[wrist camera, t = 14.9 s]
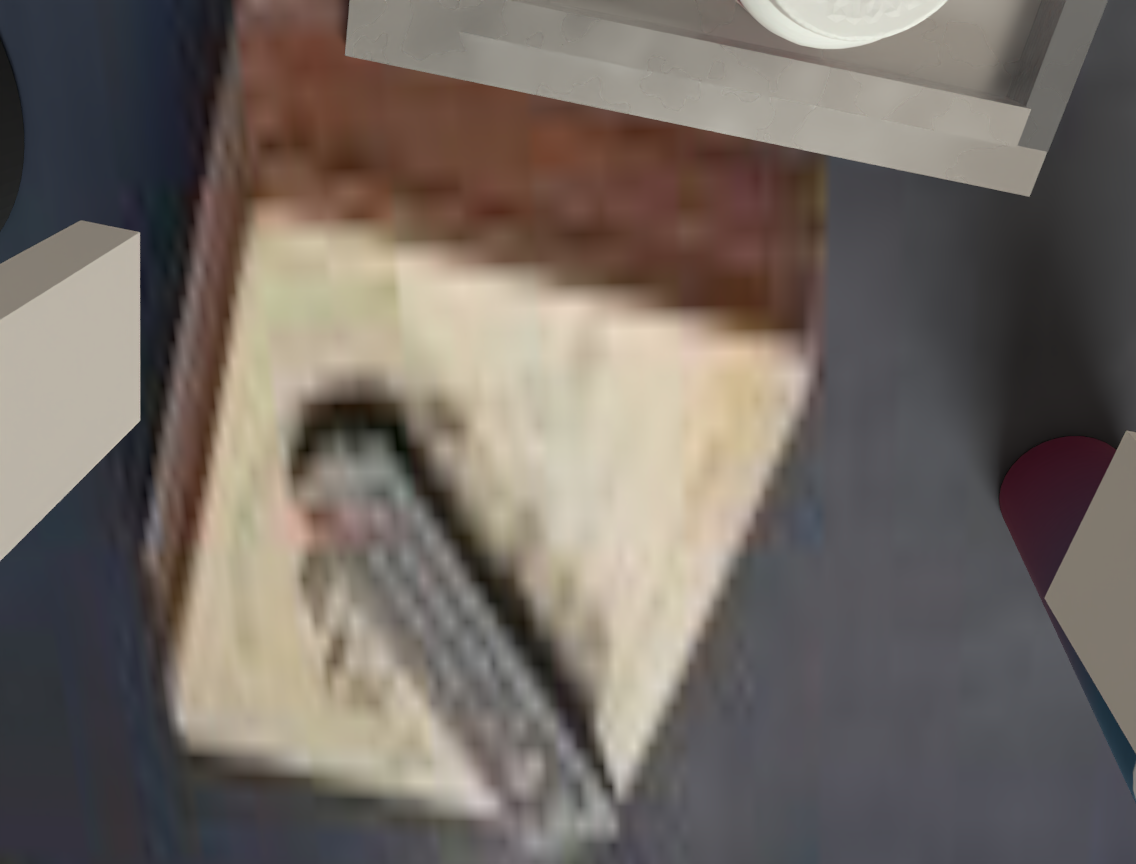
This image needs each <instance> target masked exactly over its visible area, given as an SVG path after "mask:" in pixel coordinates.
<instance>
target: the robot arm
mask: <svg viewBox="0 0 1136 864" xmlns="http://www.w3.org/2000/svg"><path fill="white" fill-rule="evenodd" d="M23 160H24V127H23V117H22V110H21V104H20V99H19V94H18V90H17V86H16V82H15V79H14V75H13V72H12V69H11V66H10V63H9V60H8V58H7V55H6V52H5V50H4V47H3V45H2V43H1V40H0V231H1V229H2V228H3V226H4V224H5V222H6V221H7V219H8V217H9V215H10V212H11V210H12V208H13V205H14V203H15V200H16V196H17V193H18V190H19V185H20V181H21V176H22V169H23ZM139 421H140V232H136V231H131V230H126V229H121V228H116V227H111V226H106V225H101V224H96V223H91V222H86V221H79V222H77V223H75V224H73V225H71V226H69V227H68V228H66V229H64V230H62V231H60V232H58V233H57V234H55V235H53V236H51V237H49V238H47V239H45V240H44V241H42V242H40V243H38V244H36V245H34V246H32V247H31V248H29V249H27V250H25V251H23V252H21V253H20V254H18V255H16V256H14V257H12V258H10V259H8V260H7V261H5V262H3V263H1V264H0V561H1V560H2V559H3V558H4V557H5V556H6V555H7V554H8V553H9V552H10V551H11V550H12V549H13V548H14V547H15V546H16V545H17V544H18V543H19V542H20V541H21V540H22V539H23V538H24V537H25V536H26V535H27V534H28V533H29V532H30V531H31V530H32V529H33V528H34V527H35V526H36V525H37V524H38V523H39V522H40V521H41V520H42V519H43V518H44V517H45V515H46V514H47V513H48V512H49V511H50V510H51V509H52V508H53V507H54V506H55V505H56V504H57V503H58V502H59V501H60V500H61V499H62V498H63V497H64V496H65V495H66V494H67V493H68V492H69V491H70V490H71V489H72V488H73V487H74V486H75V485H76V484H77V483H78V482H79V481H80V480H81V479H82V478H83V477H84V476H85V475H86V474H87V473H88V472H89V471H90V470H91V469H92V468H93V467H94V466H95V465H96V464H97V463H98V462H99V461H100V460H101V459H102V458H103V457H104V456H105V455H106V454H107V453H108V452H109V451H110V450H111V449H112V448H113V447H114V446H115V445H116V444H117V443H118V442H119V441H120V440H121V439H122V438H123V437H124V436H125V435H126V434H127V433H128V432H129V431H130V430H131V429H132V428H133V427H134V426H135V425H136V424H137V423H138V422H139ZM1045 600H1046V602H1047V604H1048V605H1049V607H1050V609H1051V610H1052V612H1053V614H1054V615H1055V617H1056V619H1057V621H1058V622H1059V624H1060V626H1061V627H1062V629H1063V631H1064V632H1065V634H1066V636H1067V638H1068V639H1069V641H1070V643H1071V644H1072V646H1073V648H1074V649H1075V651H1076V653H1077V655H1078V656H1079V658H1080V660H1081V661H1082V663H1083V665H1084V666H1085V668H1086V670H1087V672H1088V673H1089V675H1090V677H1091V678H1092V680H1093V682H1094V683H1095V685H1096V687H1097V689H1098V690H1099V692H1100V694H1101V695H1102V697H1103V699H1104V700H1105V702H1106V704H1107V706H1108V707H1109V709H1110V711H1111V712H1112V714H1113V716H1114V717H1115V719H1116V721H1117V723H1118V724H1119V726H1120V728H1121V729H1122V731H1123V733H1124V734H1125V736H1126V738H1127V740H1128V741H1129V743H1130V745H1131V746H1132V748H1133V750H1134V751H1135V753H1136V432H1131V431H1126V432H1125V434H1124V436H1123V438H1122V440H1121V442H1120V444H1119V446H1118V448H1117V450H1116V453H1115V455H1114V457H1113V459H1112V461H1111V463H1110V465H1109V467H1108V469H1107V471H1106V473H1105V475H1104V477H1103V479H1102V481H1101V483H1100V485H1099V487H1098V489H1097V491H1096V493H1095V495H1094V497H1093V500H1092V502H1091V504H1090V506H1089V508H1088V510H1087V512H1086V514H1085V516H1084V518H1083V520H1082V522H1081V524H1080V526H1079V528H1078V530H1077V532H1076V534H1075V536H1074V538H1073V540H1072V542H1071V544H1070V547H1069V549H1068V551H1067V553H1066V555H1065V557H1064V559H1063V561H1062V563H1061V565H1060V567H1059V569H1058V571H1057V573H1056V575H1055V577H1054V579H1053V581H1052V583H1051V585H1050V587H1049V589H1048V591H1047V594H1046V596H1045Z"/></svg>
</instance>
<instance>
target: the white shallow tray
mask: <svg viewBox="0 0 1136 864" xmlns="http://www.w3.org/2000/svg"><path fill="white" fill-rule="evenodd" d="M1107 1H1108V0H948V1H947V2H946V3H945V4H944V5H943V6H941V7H940V8H939V9H938V10H937V11H936V12H934V13H933V14H932V15H930V16H929V17H928V18H926V19H925V20H923V21H922V22H920V23H918V24H917V25H915V26H913V27H911V28H909V29H907V30H905V31H903V32H900V33H897V34H895V35H892V36H889V37H886V38H882V39H880V40H878V41H875V42H872V43H869V44H865V45H861V46H857V47H851V48H844V49H819V48H812V47H806V46H801V45H798V44H795V43H793V42H790V41H788V40H786V39H784V38H782V37H780V36H778V35H776V34H774V33H772V32H770V31H769V30H768V29H766V28H765V27H763V26H762V25H761V24H760V23H759V22H757V21H756V20H755V19H754V18H753V17H752V16H751V15H750V13H749V12H748V11H747V10H745V9H744V8H743V7H742V6H741V5H740V4H738V3H737V2H736V1H735V0H350V2H349V14H348V26H347V38H346V49H345V56H350V57H355V58H360V59H365V60H370V61H374V62H379V63H384V64H389V65H394V66H399V67H403V68H408V69H413V70H418V71H423V72H428V73H433V74H437V75H442V76H447V77H452V78H457V79H462V80H466V81H471V82H476V83H481V84H486V85H491V86H496V87H500V88H505V89H510V90H515V91H520V92H525V93H529V94H534V95H539V96H544V97H549V98H554V99H559V100H563V101H568V102H573V103H578V104H583V105H588V106H592V107H597V108H602V109H607V110H612V111H617V112H621V113H626V114H631V115H636V116H641V117H646V118H651V119H655V120H660V121H665V122H670V123H675V124H680V125H684V126H689V127H694V128H699V129H704V130H709V131H714V132H718V133H723V134H728V135H733V136H738V137H743V138H747V139H752V140H757V141H762V142H767V143H772V144H777V145H781V146H786V147H791V148H796V149H801V150H806V151H810V152H815V153H820V154H825V155H830V156H835V157H840V158H844V159H849V160H854V161H859V162H864V163H869V164H873V165H878V166H883V167H888V168H893V169H898V170H903V171H907V172H912V173H917V174H922V175H927V176H932V177H936V178H941V179H946V180H951V181H956V182H961V183H965V184H970V185H975V186H980V187H985V188H990V189H995V190H999V191H1004V192H1009V193H1014V194H1019V195H1024V196H1028V197H1030V194H1031V192H1032V189H1033V187H1034V184H1035V182H1036V179H1037V177H1038V174H1039V172H1040V169H1041V167H1042V164H1043V162H1044V159H1045V157H1046V154H1047V152H1048V151H1049V148H1050V146H1051V143H1052V140H1053V138H1054V135H1055V133H1056V130H1057V128H1058V125H1059V123H1060V120H1061V118H1062V115H1063V113H1064V110H1065V108H1066V105H1067V103H1068V100H1069V97H1070V95H1071V92H1072V90H1073V87H1074V85H1075V82H1076V80H1077V77H1078V75H1079V72H1080V70H1081V67H1082V65H1083V62H1084V60H1085V57H1086V54H1087V52H1088V49H1089V47H1090V44H1091V42H1092V39H1093V37H1094V34H1095V32H1096V29H1097V27H1098V24H1099V22H1100V19H1101V17H1102V14H1103V11H1104V9H1105V6H1106V4H1107Z"/></svg>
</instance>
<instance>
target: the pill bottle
mask: <svg viewBox="0 0 1136 864" xmlns="http://www.w3.org/2000/svg"><path fill="white" fill-rule="evenodd" d="M735 1H736V2H737V3H738V4H740V5H741V6H742V7H743V8H744V9H745V10H747V11H748V12H749V13H750V15H751V16H752V17H753V18H754V19H755V20H756V21H757V22H759V23H760V24H761V25H762V26H763V27H765V28H766V29H768V30H769V31H770V32H772V33H774V34H776V35H778V36H780V37H782V38H784V39H786V40H788V41H790V42H793V43H795V44H798V45H801V46H806V47H812V48H819V49H844V48H851V47H857V46H861V45H865V44H869V43H872V42H875V41H878V40H880V39H882V38H886V37H889V36H892V35H895V34H897V33H900V32H903V31H905V30H907V29H909V28H911V27H913V26H915V25H917V24H918V23H920V22H922V21H923V20H925V19H926V18H928V17H929V16H930V15H932V14H933V13H934V12H936V11H937V10H938V9H939V8H940V7H941V6H943V5H944V4H945V3H946V2H947V1H948V0H735Z"/></svg>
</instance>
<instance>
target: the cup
mask: <svg viewBox="0 0 1136 864" xmlns="http://www.w3.org/2000/svg"><path fill="white" fill-rule="evenodd" d="M1115 453H1116V449H1115V448H1113V447H1112V446H1110V445H1108V444H1107V443H1105V442H1103V441H1100V440H1097V439H1095V438H1090V437H1084V436H1067V437H1061V438H1055V439H1052V440H1050V441H1047V442H1044V443H1041V444H1040V445H1038V446H1036V447H1034V448H1032V449H1030V450H1029V451H1028V452H1026V453H1025V454H1024V455H1022V456H1021V457H1020V458H1019V459H1018V460H1017V461H1016V462H1015V463H1014V464H1013V465H1012V467H1011V468H1010V470H1009V471H1008V473H1007V474H1006V476H1005V478H1004V481H1003V483H1002V486H1001V490H1000V496H999V502H1000V510H1001V513H1002V516H1003V518H1004V520H1005V523H1006V525H1007V527H1008V529H1009V531H1010V533H1011V536H1012V538H1013V540H1014V542H1015V544H1016V546H1017V548H1018V551H1019V553H1020V555H1021V557H1022V559H1023V561H1024V564H1025V566H1026V568H1027V570H1028V572H1029V574H1030V576H1031V579H1032V581H1033V583H1034V585H1035V587H1036V589H1037V591H1038V594H1039V596H1040V598H1041V600H1042V602H1043V604H1044V607H1045V609H1046V611H1047V613H1048V615H1049V617H1050V619H1051V622H1052V624H1053V626H1054V628H1055V630H1056V632H1057V635H1058V637H1059V639H1060V641H1061V643H1062V645H1063V647H1064V650H1065V652H1066V654H1067V656H1068V658H1069V660H1070V663H1071V665H1072V667H1073V669H1074V671H1075V673H1076V675H1077V678H1078V680H1079V682H1080V684H1081V686H1082V688H1083V691H1084V693H1085V695H1086V697H1087V699H1088V701H1089V703H1090V706H1091V708H1092V710H1093V712H1094V714H1095V716H1096V718H1097V721H1098V723H1099V725H1100V727H1101V729H1102V731H1103V734H1104V736H1105V738H1106V740H1107V742H1108V744H1109V746H1110V749H1111V751H1112V753H1113V755H1114V757H1115V759H1116V762H1117V764H1118V766H1119V768H1120V770H1121V772H1122V774H1123V777H1124V779H1125V781H1126V783H1127V785H1128V787H1129V790H1130V792H1131V794H1132V796H1133V798H1134V800H1135V802H1136V753H1135V751H1134V750H1133V748H1132V746H1131V745H1130V743H1129V741H1128V740H1127V738H1126V736H1125V734H1124V733H1123V731H1122V729H1121V728H1120V726H1119V724H1118V723H1117V721H1116V719H1115V717H1114V716H1113V714H1112V712H1111V711H1110V709H1109V707H1108V706H1107V704H1106V702H1105V700H1104V699H1103V697H1102V695H1101V694H1100V692H1099V690H1098V689H1097V687H1096V685H1095V683H1094V682H1093V680H1092V678H1091V677H1090V675H1089V673H1088V672H1087V670H1086V668H1085V666H1084V665H1083V663H1082V661H1081V660H1080V658H1079V656H1078V655H1077V653H1076V651H1075V649H1074V648H1073V646H1072V644H1071V643H1070V641H1069V639H1068V638H1067V636H1066V634H1065V632H1064V631H1063V629H1062V627H1061V626H1060V624H1059V622H1058V621H1057V619H1056V617H1055V615H1054V614H1053V612H1052V610H1051V609H1050V607H1049V605H1048V604H1047V602H1046V600H1045V596H1046V594H1047V591H1048V589H1049V587H1050V585H1051V583H1052V581H1053V579H1054V577H1055V575H1056V573H1057V571H1058V569H1059V567H1060V565H1061V563H1062V561H1063V559H1064V557H1065V555H1066V553H1067V551H1068V549H1069V547H1070V544H1071V542H1072V540H1073V538H1074V536H1075V534H1076V532H1077V530H1078V528H1079V526H1080V524H1081V522H1082V520H1083V518H1084V516H1085V514H1086V512H1087V510H1088V508H1089V506H1090V504H1091V502H1092V500H1093V497H1094V495H1095V493H1096V491H1097V489H1098V487H1099V485H1100V483H1101V481H1102V479H1103V477H1104V475H1105V473H1106V471H1107V469H1108V467H1109V465H1110V463H1111V461H1112V459H1113V457H1114V455H1115Z"/></svg>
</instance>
